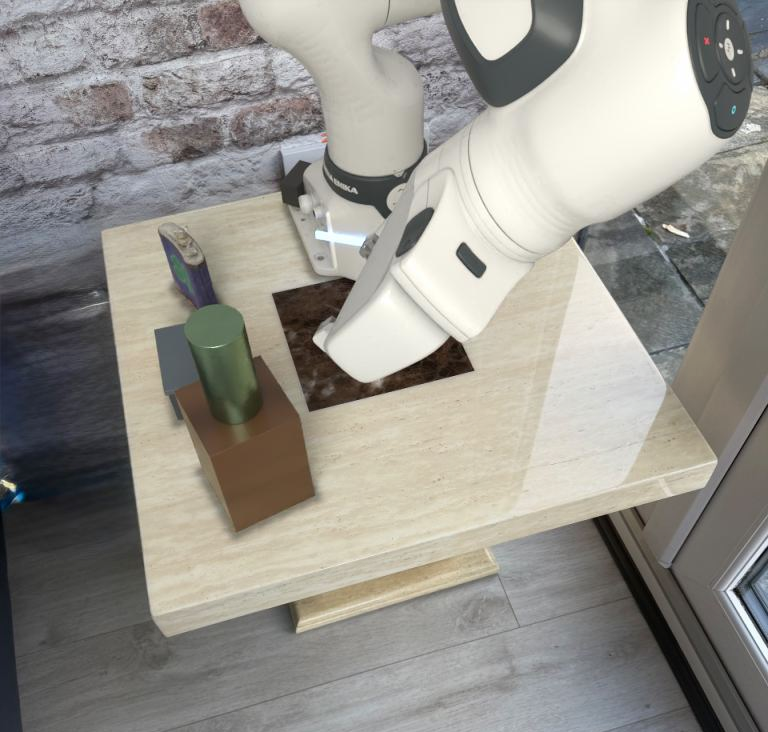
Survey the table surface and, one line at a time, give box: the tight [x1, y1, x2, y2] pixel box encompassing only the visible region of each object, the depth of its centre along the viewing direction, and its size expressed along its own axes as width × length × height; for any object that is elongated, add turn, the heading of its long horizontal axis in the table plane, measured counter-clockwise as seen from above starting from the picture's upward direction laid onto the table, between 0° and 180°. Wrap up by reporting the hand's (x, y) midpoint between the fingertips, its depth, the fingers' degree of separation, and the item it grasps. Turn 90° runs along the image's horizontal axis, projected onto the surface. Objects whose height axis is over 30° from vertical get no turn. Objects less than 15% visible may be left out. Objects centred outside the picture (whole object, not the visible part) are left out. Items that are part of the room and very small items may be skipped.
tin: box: [184, 303, 263, 424], centre depth 74 cm, size 5×5×10 cm
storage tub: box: [153, 322, 199, 421], centre depth 94 cm, size 10×6×5 cm
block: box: [174, 354, 315, 533], centre depth 83 cm, size 9×9×13 cm
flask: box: [157, 221, 219, 311], centre depth 100 cm, size 9×3×11 cm, turn 36°
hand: (346, 295), depth 61 cm, fingers open, 8 cm apart
